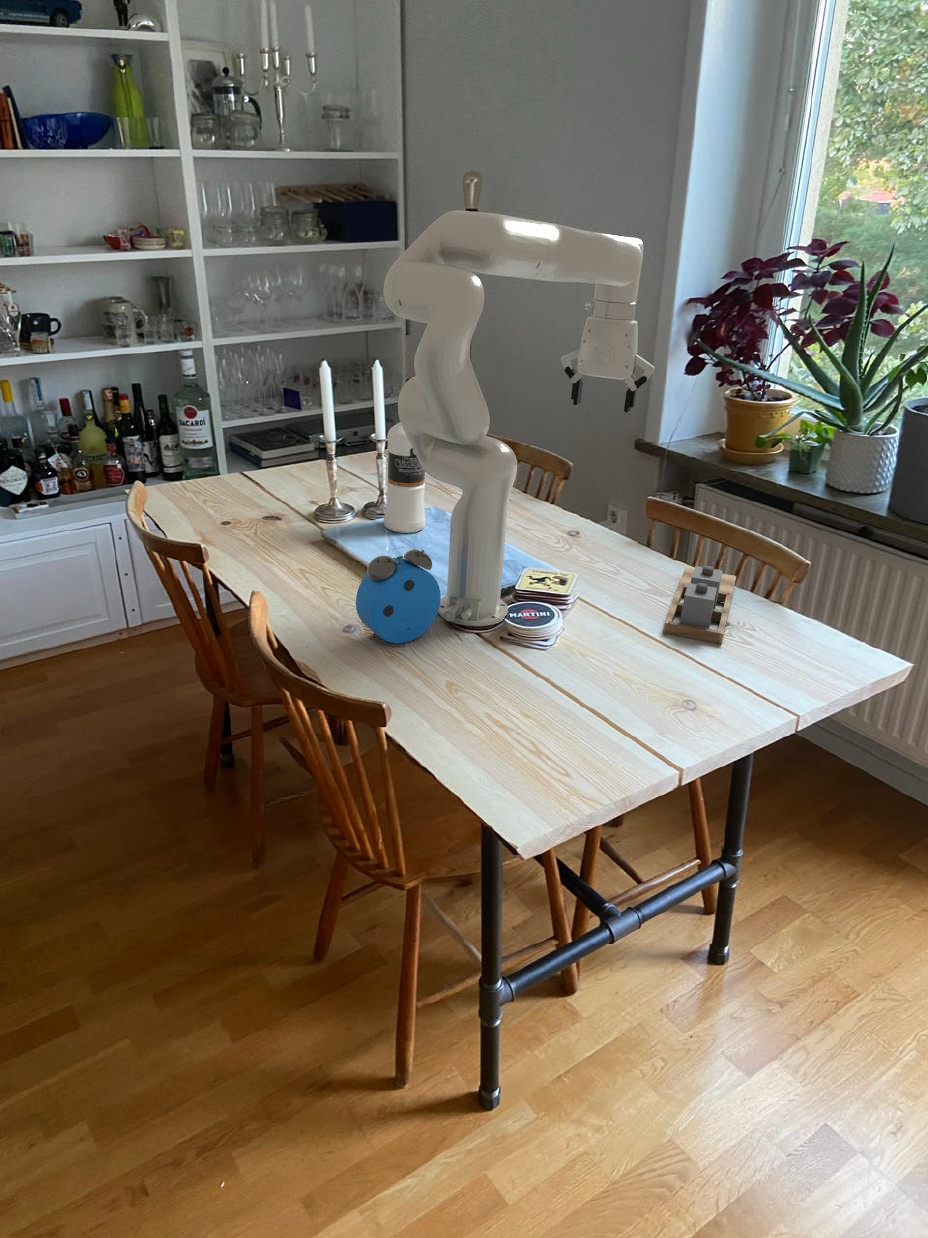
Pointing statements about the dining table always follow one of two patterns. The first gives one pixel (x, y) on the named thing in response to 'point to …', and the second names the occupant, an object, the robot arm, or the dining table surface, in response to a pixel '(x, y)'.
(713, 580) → the grey knobbed block
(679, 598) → the wooden crate frame
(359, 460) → the dining table surface
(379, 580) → the alarm clock
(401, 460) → the vodka
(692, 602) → the plug
